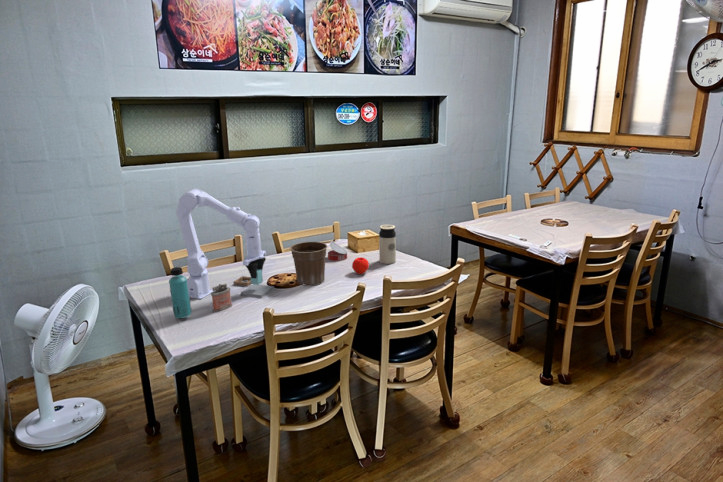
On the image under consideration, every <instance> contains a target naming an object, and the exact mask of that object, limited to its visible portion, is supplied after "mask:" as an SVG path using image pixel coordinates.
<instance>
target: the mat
mask: <svg viewBox="0 0 723 482" xmlns="http://www.w3.org/2000/svg"><path fill="white" fill-rule="evenodd" d="M273 290H275V286H273V285H266V284H259V285H256V284H251V285H249V286H247V287H246V288H245V289H243V291H240V295H241V296H248V297H256V298H263V297H265V296H266V295H267V294H269V293H271V292H272V291H273Z"/></svg>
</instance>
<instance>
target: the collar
mask: <svg viewBox="0 0 723 482" xmlns="http://www.w3.org/2000/svg"><path fill="white" fill-rule="evenodd" d="M233 285H234V286H241V287H250V286H251V285H252V284H251V276H246V275H244V276H243V275H242V276H241V277H239V278H237V279H235V280H234V281H233Z"/></svg>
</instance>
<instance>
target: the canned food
mask: <svg viewBox="0 0 723 482" xmlns="http://www.w3.org/2000/svg"><path fill="white" fill-rule="evenodd" d="M329 247H330V248H331V249H332V250H330V251H328V252H327V259H328V260H329V261H332V262H341V261H345V260H347V259H348V251H347V250H346V249H345V248H344V247H342V246H341V245H339V244H337V243H336V242H335V241H333V240H330V241H329Z"/></svg>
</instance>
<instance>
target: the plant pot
mask: <svg viewBox="0 0 723 482" xmlns="http://www.w3.org/2000/svg"><path fill="white" fill-rule="evenodd" d="M327 248H328V244H326V243H324V242H321V241H302V242H299V243H295V244H292V245H291V246H290V248H289V250H290V252H291V255H292V258H293V263H294V269H295V275H296V282H297V283H298V285H301V286H302V285H304V286H306V287H307V286H310V287H311V286H316V285H320V284H322V283H323V282H325V275H326V274H325V271H326V255H327Z"/></svg>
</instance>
